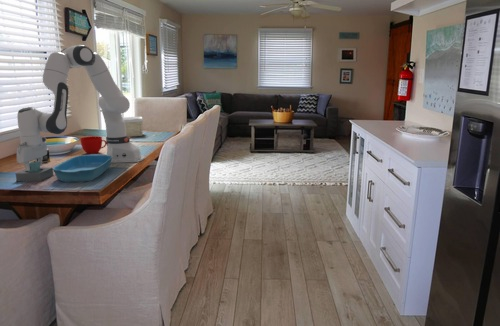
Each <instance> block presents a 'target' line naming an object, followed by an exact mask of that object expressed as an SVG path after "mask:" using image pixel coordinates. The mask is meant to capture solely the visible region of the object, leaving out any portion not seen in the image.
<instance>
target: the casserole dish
mask: <svg viewBox="0 0 500 326" xmlns="http://www.w3.org/2000/svg"><path fill="white" fill-rule="evenodd" d="M111 159H112V156H109V155H107V154H101V153H100V154H98V153H97V154H83V155H76V156H73V157H70V158H68V159H66V160H65V161H63V162H61V163H59V164H56V165H55V166H53V167H52V168H53V173H54V174H55V176H56V178H57V179H58V180H59V181H61V182H71V183H72V182H73V183H74V182H78V183H79V182H90V181H93V180H94V179H97V178H99V177H100V176H101V175H102V174H104V172H106V171H107V170H109V168H110V167H111V164H112V163H111Z"/></svg>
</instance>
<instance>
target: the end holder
mask: <svg viewBox="0 0 500 326" xmlns="http://www.w3.org/2000/svg"><path fill="white" fill-rule="evenodd" d="M40 169H41V171H39V172H28V171H26V168H25V169H23V170H20V171H18V172H16V173H15V178H16V182H42V181H45V180H47V179H48V178H50V177H53V176H54V170H53V167H41V166H40Z"/></svg>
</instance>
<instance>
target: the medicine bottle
mask: <svg viewBox="0 0 500 326" xmlns="http://www.w3.org/2000/svg"><path fill="white" fill-rule="evenodd" d="M50 156H51V155H50V150H49V148H47V155H45V156H43V160H42V163H47V162H50V161H51V158H50ZM34 162H38V159H35V160H34Z"/></svg>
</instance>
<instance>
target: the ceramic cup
mask: <svg viewBox="0 0 500 326" xmlns="http://www.w3.org/2000/svg"><path fill="white" fill-rule="evenodd" d="M79 140H80V145H81V148H82V150H83V151H84V152H85V153H86V155H92V154H98V153H99V152H100V151H101V149H104V148H105V147H107V143H106V140H104V139H103V137H102V136H84V137H81V138H80V139H79ZM103 142H104V145H103V146H102V144H103Z"/></svg>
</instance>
